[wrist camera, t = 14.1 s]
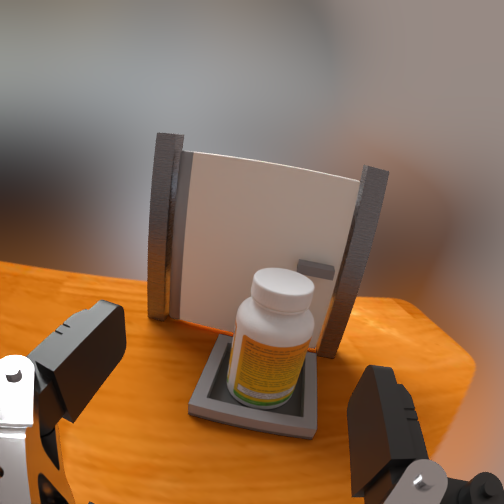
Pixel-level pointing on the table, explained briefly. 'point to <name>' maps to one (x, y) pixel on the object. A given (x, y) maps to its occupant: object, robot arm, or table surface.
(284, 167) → the door
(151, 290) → the door frame
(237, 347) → the supplement bottle
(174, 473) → the table surface
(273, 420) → the shallow tray
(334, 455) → the table surface
